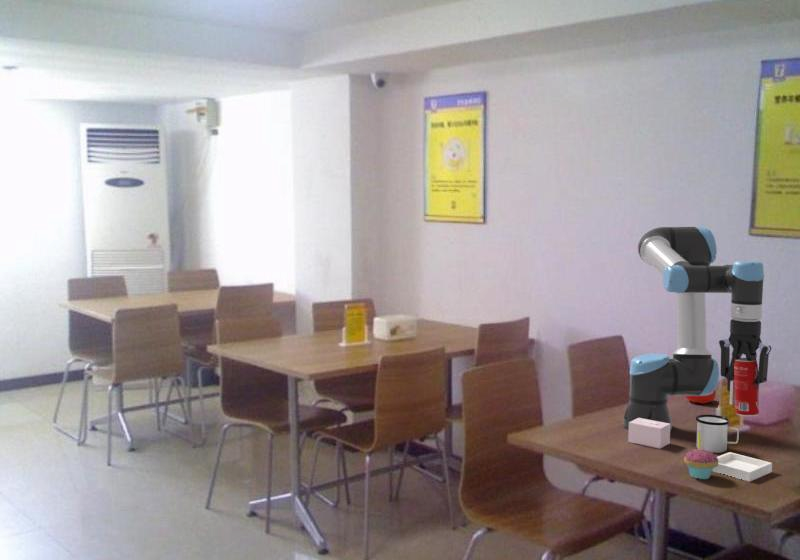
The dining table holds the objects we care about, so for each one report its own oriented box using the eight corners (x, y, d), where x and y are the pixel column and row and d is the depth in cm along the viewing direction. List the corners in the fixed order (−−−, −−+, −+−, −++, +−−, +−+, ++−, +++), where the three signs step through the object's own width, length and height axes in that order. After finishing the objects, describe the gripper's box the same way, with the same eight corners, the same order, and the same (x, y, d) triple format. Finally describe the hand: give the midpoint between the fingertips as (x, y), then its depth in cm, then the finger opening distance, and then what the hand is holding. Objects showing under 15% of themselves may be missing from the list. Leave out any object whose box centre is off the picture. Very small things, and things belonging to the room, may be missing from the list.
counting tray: (706, 469, 216) (706, 460, 216) (729, 460, 224) (729, 452, 224) (749, 481, 207) (749, 472, 207) (771, 472, 215) (772, 463, 214)
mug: (696, 452, 231) (697, 421, 230) (692, 442, 240) (693, 413, 240) (740, 455, 228) (741, 424, 227) (735, 445, 237) (736, 416, 237)
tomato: (687, 405, 285) (688, 384, 284) (681, 397, 296) (682, 377, 295) (718, 406, 283) (719, 385, 282) (711, 399, 294) (712, 379, 293)
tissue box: (628, 441, 241) (628, 421, 241) (638, 436, 246) (638, 416, 246) (660, 448, 235) (660, 427, 234) (669, 443, 240) (670, 422, 239)
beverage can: (760, 418, 209) (762, 362, 208) (733, 416, 211) (735, 360, 209) (757, 412, 215) (759, 357, 213) (731, 410, 217) (733, 356, 215)
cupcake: (678, 471, 215) (679, 427, 214) (708, 470, 216) (710, 427, 215) (692, 482, 207) (694, 437, 205) (723, 481, 207) (725, 436, 206)
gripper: (708, 316, 216) (704, 401, 218) (771, 324, 202) (766, 414, 205) (722, 314, 220) (719, 397, 223) (785, 321, 207) (780, 410, 209)
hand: (742, 405), depth 214 cm, fingers closed on beverage can, 4 cm apart
